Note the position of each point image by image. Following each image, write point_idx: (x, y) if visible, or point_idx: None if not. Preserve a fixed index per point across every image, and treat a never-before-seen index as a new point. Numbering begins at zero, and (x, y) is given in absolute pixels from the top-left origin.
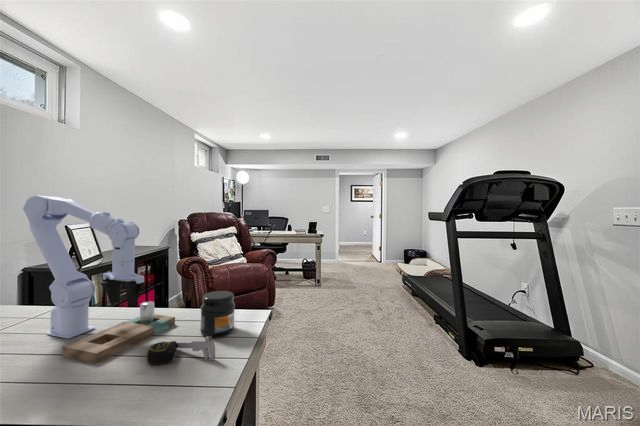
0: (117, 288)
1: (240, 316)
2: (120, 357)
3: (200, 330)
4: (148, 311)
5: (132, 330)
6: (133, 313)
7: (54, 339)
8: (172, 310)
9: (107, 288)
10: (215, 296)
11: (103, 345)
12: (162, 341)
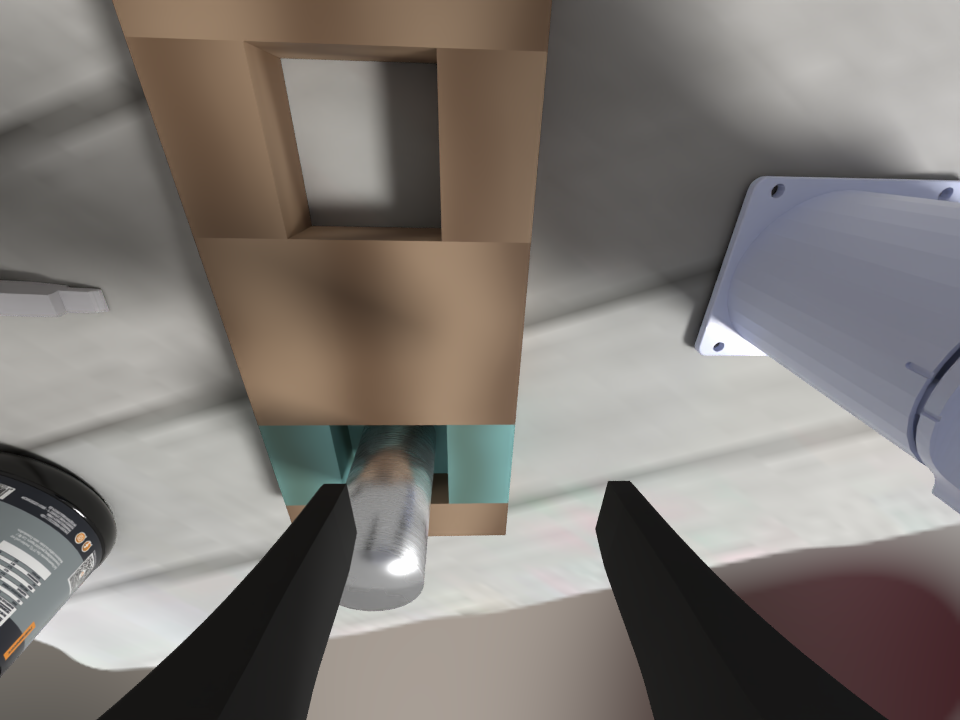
0: (663, 714)
1: (130, 622)
2: (98, 64)
3: (39, 477)
4: None
5: (325, 340)
6: None
7: (852, 142)
8: (483, 592)
9: (755, 698)
10: None
11: (219, 37)
12: (50, 313)
